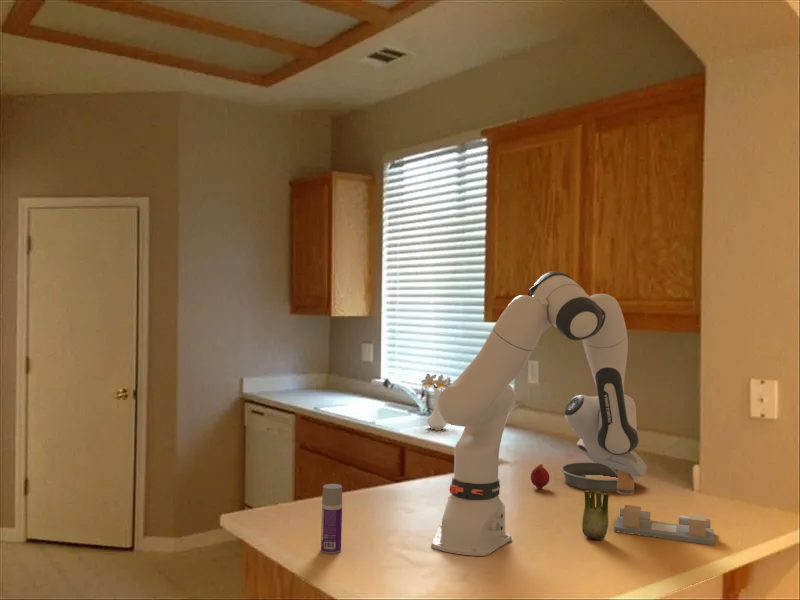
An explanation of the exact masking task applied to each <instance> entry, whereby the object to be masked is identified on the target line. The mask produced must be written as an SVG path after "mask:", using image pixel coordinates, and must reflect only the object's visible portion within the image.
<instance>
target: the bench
mask: <svg viewBox="0 0 800 600" xmlns="http://www.w3.org/2000/svg"><path fill="white" fill-rule="evenodd" d="M711 521H712V520H711V519H708V518H707V514H702V513H695V512H689V515H688V516H685V515H678V524H676V523H670V522H662V521H661V522H660V521H652V520H651V511H645V510H642V507H641V506H638V505H637V506H636V505H631V504H629V505H628V504H625V505H624V508H623V507H620V508H619V516H617V518H616V521H615V524H614V526H613V532H614V531H619V532H618V533H620V532H625V533H624V534H628V533H633V534H632V535H635V534H640V535H639V536H642V535H646V536H645V537H649V536H653V537H652V538H656V537H659V538H658V539H664V538H665V540H671V539H672V540H673V541H677V542H678V541H680V542H685V543H686V542H687V543H695V544H701V545H708V546H715V545H716V540H715V539H716V538H715V529H714V528H711Z"/></svg>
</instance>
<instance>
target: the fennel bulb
mask: <svg viewBox="0 0 800 600" xmlns="http://www.w3.org/2000/svg"><path fill="white" fill-rule="evenodd" d="M595 492H596V493H595ZM609 495H610V494H609V493H607V492H606V493H605V492H604V493H603V496H602V491H594V490H584V509H583V510H584V511H583V515H582V523H581V527H582V528H581V529H582V533H583V535H584V536H585V537H586V538H588V539H590V540H591V539H592V540H595V541H600V540H603V539H605V537H606V535H607V533H608V530H609V529H608V527H609ZM602 497H603V498H602Z"/></svg>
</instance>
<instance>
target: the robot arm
mask: <svg viewBox="0 0 800 600" xmlns="http://www.w3.org/2000/svg"><path fill="white" fill-rule="evenodd" d="M552 326H553V327H554V328H555V329H557V331H558V332H559V334H561V335H562V336H564V337H566V338H567V339H569V340H571V341H582V345H583V350H584V353H585V357H586V359H587V362H588V365H589V368H590V371H591V375H592V377H593V382H594V383H595V384H594V385H595V387H596V391H597V395H596V396H590V395H585V394H577V395H575V396H574V397H572V398H570V400H569V401H568V402H567V404H566V405H565V409H564V417H565V420H566V422H567V423H568V425H569V427H570V428H571V429H572V432H574V434H575V435H576V436H577V437H578V438H579V440H578V441H577V443H576V446H577V448H579V450H581V451H582V452H583V453H584V454H585V455H586V457H587V458H588V459H589V460H591V462H596V463H600V464H603V465H606V466H608V467H609V468H610V469H612V470H613V471H614V472H615V473H616V474H618V470H620V471H623V472H626V473H629V474H630V475H629V477H630V478H631V479H632V480H634V482H635V481H637V480H638V479H639V478H641V477H643V475H644V474H645V473H646V471H647V469H648V465H647V464H646V463H645V461H644V460H643V459H642V458H641V457H640V456H639V455H638V454H637V453H636V452H635V451H634V450H635V449H636V448H637V447H638V445H639V434H638V429H637V428H638V426H637V425H638V424H637V408H636V405H637V404H636V401H635V400H634V398H633V397H632V396H630V395H629V394H627V393H625V378H626V368H627V360H628V350H629V349H628V348H629V347H628V346H629V342H628V341H629V340H628V339H629V337H628V330H627V325H626V322H625V318H624V314H623V312H622V308H621V306H620V304H619V302H618V300H617V299H616V298H615V297H614V296H612V295H610V294H606V293H595V294H592V295H589V294H588V293H587V292H586V290H585V289H584V288H583V287H582V286H581V285H580V284H578V283H577V282H576V281H575V280H573V279H572V277H571V276H569V275H567V274H566V273H563V272H561V271H557V270H553V271H548V272H546V273H544V274H542V275H541V276H540V277H539V278H538V279H537V280H536V281H535V283H534V284H533V286H530V288H529V290H528V292H527V294H526V295H525V294H524V295H523V294H521V295H518V296H516V297H514V298H513V299H512V300H511V301H510V303H508V305H507V307H506V308H505V309H504V310H503V311H502V313H501V315H500V316H499V318H498V319H497V320H496V322H495V324H494V326H493V328H492V330H491V331H490V332H489V335H488V337H487V339H486V340H485V342H484V344H483V345H482V347H481V349H480V351H479V352H478V353H477V354H476V356H475V357H474V359H473V360H471V362H470V364H469V365H467V367H466V368H465V370H463V371H462V373H461V374H460V375H459V376H458V377H457V378H456V379H455V380H454V381H453V382H451V383H452V384H451V385H449V386H448V387H447V388H445V389H443V390H442V392H441V394H440V396H439V398H438V410H439V413H440V415H441V417H442V418H443V420H444V421H445V422H447V425H451V426H456V427H464V429H463V431H462V435H460V438H459V440H457V442H456V444H455V446H454V457H453V458H454V463H453V464H454V466H453V476H452V479H451V484H450V486H449V494H450V495H449V496H448V499H447V502H446V506H445V509H444V512H443V516H442V519H441V524H439V525H438V528H437V530H436V532H435V534H434V535H433V539H432V541H431V548H433V549H435V550H439V551H443V552H447V553H451V554H455V555H456V554H458V555H464V556H477V557H479V556H480V557H481V556H482V557H483V556H485V557H486V556H488V555H490V554H491V553H494V551H496V550H498V549H499V548H501V547H502V546H504V545H506V544H507V543H509V542H510V541H512V535H511V534H510V533H508V532H506V531H507V530H506V529H507V528H506V505H505V503H503V501H502V499H500V496H499V495H500V489H501V483H500V482H501V481H500V479H499V460H500V446H501V442H502V438H503V435H504V430H505V428H506V424H507V420H508V418H509V416H510V415H511V413H512V412H513V410H514V409H515V406H516V401H517V399H516V392H515V390H514V388H513V387H512V386H511V384H510V383H512V382H513V381H514V380H515V379H517V378H518V376H519V375H520V374H521V372H522V370H523V369H524V367H525V365H526V363H527V362H528V360H529V358H530V357H531V355H532V354H533V352H534V350H535V348H536V346H537V345H538V342H539V340H540V338H541V336H542V335H543V334H544V333H545V331H547V330H548V329H549V328H550V327H552Z"/></svg>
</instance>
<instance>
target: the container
mask: <svg viewBox="0 0 800 600" xmlns="http://www.w3.org/2000/svg"><path fill="white" fill-rule="evenodd" d="M342 523H343V486H342V485H341V484H337V483H327V484H324V485H323V486H322V500H321V529H320V533H321V535H320V552H321V553H322V554H325V555H337V554H339V553H341V552H342V528H343V527H342V525H343V524H342Z"/></svg>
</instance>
